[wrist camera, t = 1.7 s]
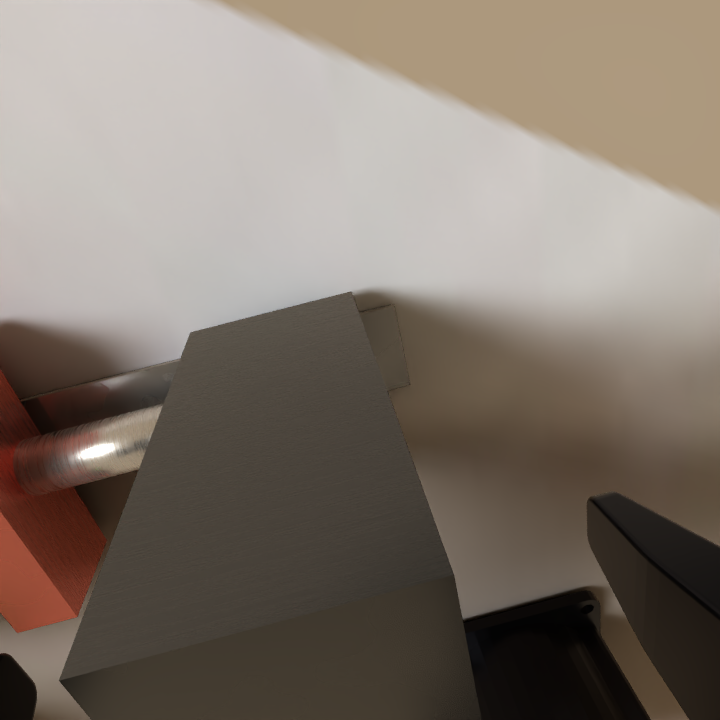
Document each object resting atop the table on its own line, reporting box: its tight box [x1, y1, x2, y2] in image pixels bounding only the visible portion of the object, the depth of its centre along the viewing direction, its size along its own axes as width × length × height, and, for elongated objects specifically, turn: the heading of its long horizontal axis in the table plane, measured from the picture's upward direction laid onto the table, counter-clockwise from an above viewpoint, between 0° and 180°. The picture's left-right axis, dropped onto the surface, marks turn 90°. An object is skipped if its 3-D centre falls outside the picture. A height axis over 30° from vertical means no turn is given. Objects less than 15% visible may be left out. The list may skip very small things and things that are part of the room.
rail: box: [20, 304, 410, 435], centre depth 14 cm, size 12×2×1 cm, turn 102°
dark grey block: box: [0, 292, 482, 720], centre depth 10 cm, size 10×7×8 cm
